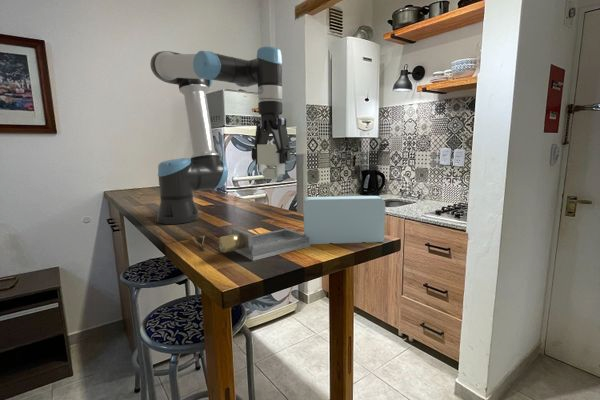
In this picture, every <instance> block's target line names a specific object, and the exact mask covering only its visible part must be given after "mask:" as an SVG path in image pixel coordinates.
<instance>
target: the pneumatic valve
mask: <svg viewBox="0 0 600 400" xmlns="http://www.w3.org/2000/svg"><path fill="white" fill-rule="evenodd" d="M285 147H286V146H285ZM276 151H277V147H276V144H274V143H273V140H268V143H267V144H258V145H255V147H252V148H251V160H252V161H253V162H255V165H259V164H265V165H266V166H267V168H265V169H264V170H263V172H262V177H263V178H264V179H265V180H276V179H278V178H279V177H280V176H281V174H279V175H277V174H276ZM290 160H291V149H290V150H289V151H287V152H286V153H285V165H286V164H287V162H290Z"/></svg>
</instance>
